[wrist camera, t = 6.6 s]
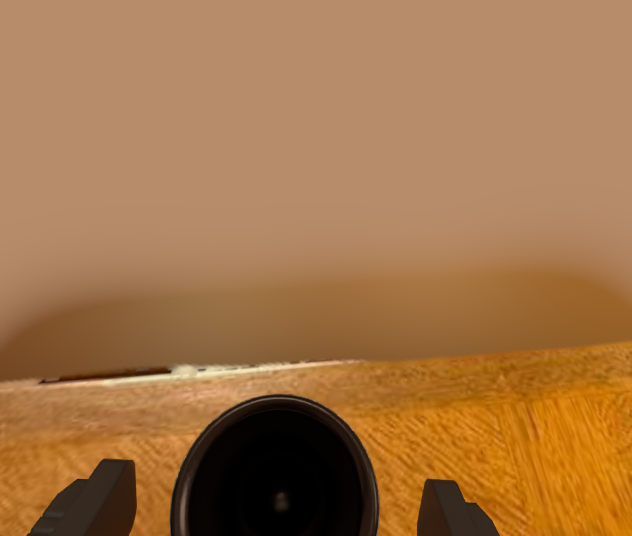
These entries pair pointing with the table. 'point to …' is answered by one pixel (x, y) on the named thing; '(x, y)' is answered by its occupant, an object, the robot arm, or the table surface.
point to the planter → (276, 474)
